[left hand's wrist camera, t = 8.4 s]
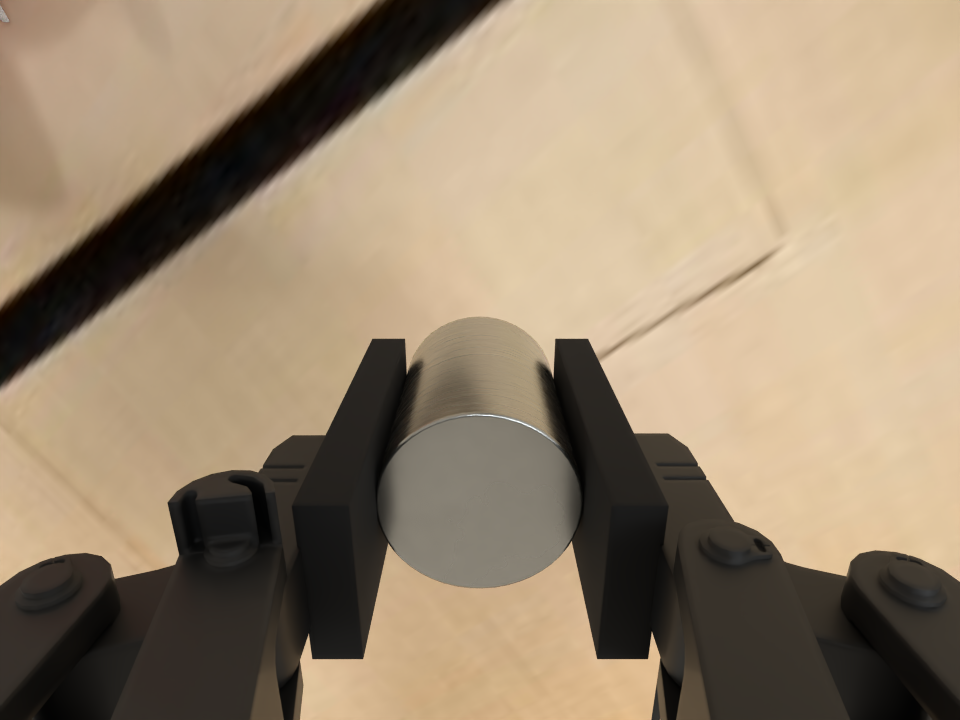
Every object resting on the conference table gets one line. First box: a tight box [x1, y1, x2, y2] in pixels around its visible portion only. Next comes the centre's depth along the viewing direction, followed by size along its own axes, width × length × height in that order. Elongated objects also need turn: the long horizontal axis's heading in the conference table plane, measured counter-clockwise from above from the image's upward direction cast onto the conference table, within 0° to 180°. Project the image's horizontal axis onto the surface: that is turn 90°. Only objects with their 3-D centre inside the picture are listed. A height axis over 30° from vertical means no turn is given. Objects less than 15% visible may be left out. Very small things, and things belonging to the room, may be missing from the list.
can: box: [376, 317, 584, 588], centre depth 12 cm, size 4×4×5 cm
